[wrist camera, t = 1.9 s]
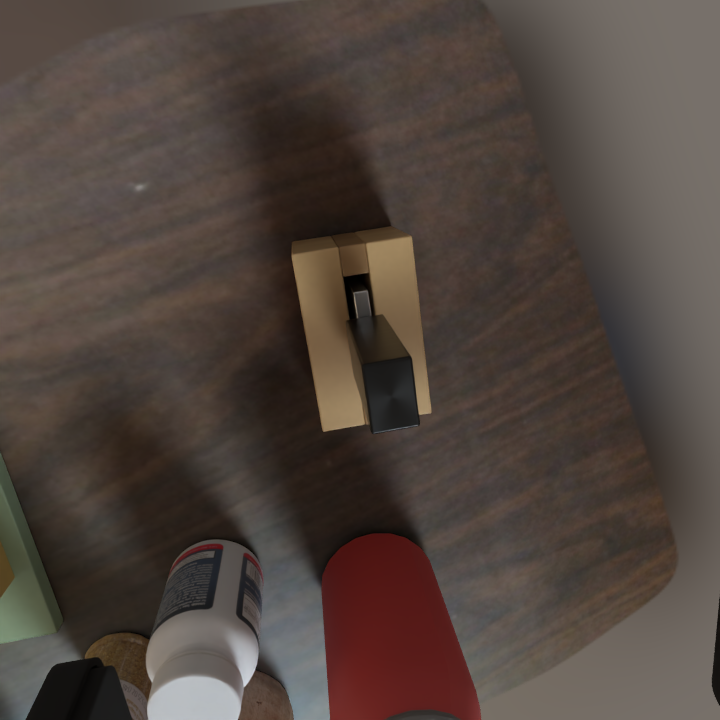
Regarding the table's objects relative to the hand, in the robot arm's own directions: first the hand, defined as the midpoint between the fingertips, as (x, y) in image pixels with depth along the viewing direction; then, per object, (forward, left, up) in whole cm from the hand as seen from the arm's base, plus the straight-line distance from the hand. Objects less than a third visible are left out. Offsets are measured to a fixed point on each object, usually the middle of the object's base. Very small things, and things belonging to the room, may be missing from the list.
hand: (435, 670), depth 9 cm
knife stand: (0, +1, -22) cm, 22 cm away
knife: (0, +1, -22) cm, 22 cm away
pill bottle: (+14, -9, -22) cm, 27 cm away
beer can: (+16, 0, -22) cm, 27 cm away
